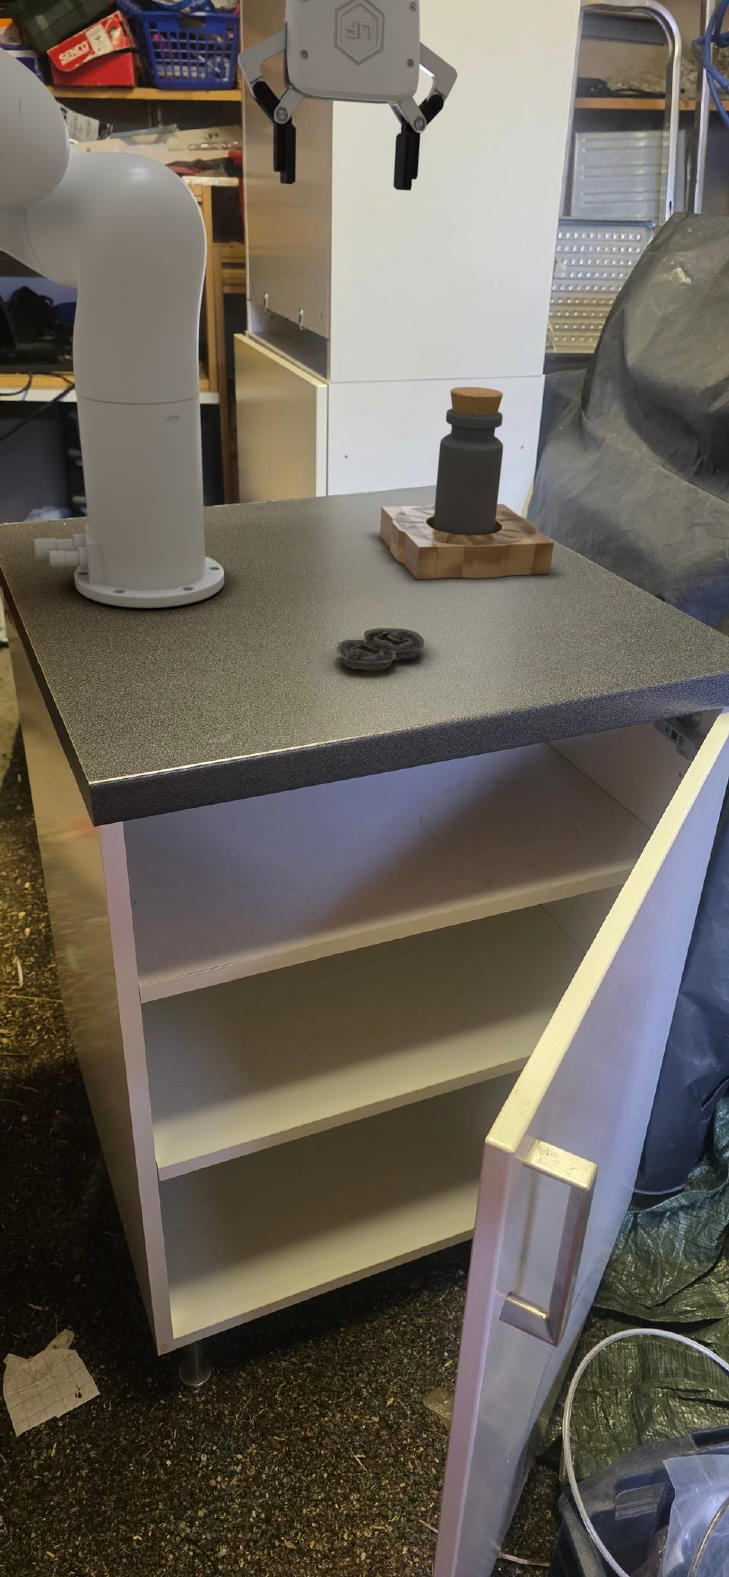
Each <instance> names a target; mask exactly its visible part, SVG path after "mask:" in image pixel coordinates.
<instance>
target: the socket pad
mask: <svg viewBox="0 0 729 1577" xmlns="http://www.w3.org/2000/svg"><path fill="white" fill-rule="evenodd" d="M434 512H435V504H427V505H426V504H425V505H400V506H396V505H395V506H381V508H380V525H379V526H380V527H379V528H380V529H379V531H380V532H379V537H380V538H381V540H382V541H383V542H384V543H385V544H386V545H387V547H388V548H389V553H390V554H391V555H392V556H393V558H394V559H395V560H396V561H397V562H398V563H400V564H403V565H404V567H405V568H406V569H407V570H408V571H409V572H410V574H411V575H412V576H413V577H414V579H416V580H432V579H433V580H434V579H454V578H455V579H456V578H457V579H459V578H464V579H488V578H502V577H503V578H504V577H506V576H527V575H528V576H530V575H550V573H551V567H552V566H551V565H552V559H553V553H554V552H553V551H554V544H555V543H554V541H553V540H551V539H550V538H548V537H547V536H546V535H545V534H543V533H542V532H541V531H539V530H538V529H537V526H536V525H535V524H534V523H532V521H530V520H529V519H528V518H526V517H523V516H521V515H519V514H517V512H515V511H513V510H512V509H511V508H509V507H508V506H507V505H505V504H504V503H497V511H496V520H495V529H494V533H493V534H488V535H474V536H467V535H456V534H451V533H446V532H441V531H438V530H436V529H433V525H434Z"/></svg>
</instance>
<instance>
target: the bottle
mask: <svg viewBox="0 0 729 1577" xmlns="http://www.w3.org/2000/svg"><path fill="white" fill-rule="evenodd" d="M503 396H504V393H503V392H502V391H500V390H498V389H493V388H489V387H477V386H459V387H454V388H452V389H451V390H450V400H451V408H449V409H447V411H446V413H445V414H446V415H445V422H446V423H447V424H448V425H450V426H451V429H450V433H448V434H446V435H445V436H443V437H442V438H441V440H440V444H439V450H438V451H439V452H438V465H437V476H436V487H435V500H434V505H435V512H434V525H433V529H436V530H438V531H441V532H446V533H451V534H456V535H467V536H474V535H488V534H493V533H494V529H495V520H496V511H497V504H498V502H499V491H500V481H501V473H502V464H503V453H504V443H503V442H502V441H501V440H500V439H499V438H498V437H497V436H495V432H496V428H500V427H501V426H502V425H503V419H504V417H503V416H504V415H503V414H502V413H501V412H500V411H499V410H500V406H501V403H502V399H503Z"/></svg>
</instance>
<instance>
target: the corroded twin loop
mask: <svg viewBox="0 0 729 1577" xmlns="http://www.w3.org/2000/svg"><path fill="white" fill-rule="evenodd" d="M424 645H425V641H424V638H423V637H422V636H421V635H420V633H418V632H417V631H413V630H411V629H406V628H398V627H397V628H394V627H393V628H390V627H389V628H388V627H379V628H372V629H367V630H365V631H364V633H363V639H345V640H342V641H340V642H338V644H337V647H336V652H337V654H339V655H340V656H341V661H342V663H343V664H344V665H345V666H346V667H347V668H349V669H351V670H385V669H387V668H390V667H391V665H392V661H393V660H406V659H414V658H416V657H418V655H419V654H420V652H421V650H422V649H423V648H424Z"/></svg>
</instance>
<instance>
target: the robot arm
mask: <svg viewBox="0 0 729 1577" xmlns="http://www.w3.org/2000/svg"><path fill="white" fill-rule="evenodd" d="M284 10H285V11H284V22H283V24H284V25H283V26H284V27H283V28H282V29H280V30H279V31H277V32H275V33H273V34H272V35H270V36H268V37H266V38H265V39H263V40H261V41H259V42H257V43H256V44H253V45H252V46H251V47H248V48H247V49H245V50H243V51H242V52H240V53H239V54H238V55H237V64H238V66H239V69H240V71H241V74H242V75H243V78H244V81H245V83H246V85H247V87H248V89H249V92H250V96H251V97H252V99H253V100H254V101H255V102H256V104H257V105H258V106H259V108H260V109H261V110H262V111H263V113H264V114H265V116H267V118H268V121H269V122H270V123H271V124H272V128H273V129H272V130H273V131H272V138H273V139H272V142H273V144H272V149H273V150H272V155H273V156H272V166H273V172H274V173H279V182H280V184H283V185H293V184H294V183H296V178H297V176H296V175H297V174H296V173H297V172H296V170H297V169H296V167H297V164H296V163H297V160H296V159H297V127H296V126H295V124H293V115H294V113H295V112H296V111H297V109H298V108H299V107H300V105H301V104H302V102H303V101H304V100H305V99H308V100H318V101H331V102H344V103H358V104H359V103H360V104H361V103H362V104H374V105H375V104H378V105H385V104H387V105H388V106H389V107H390V109H391V111H392V112H393V114H394V116H395V117H396V119H397V121H398V122H399V124H400V132H397V134H396V136H395V146H394V147H395V148H394V164H393V165H394V166H393V167H394V168H393V188H394V189H395V190H396V191H411V190H412V187H413V181H415V180H417V179H418V175H419V165H420V164H419V162H420V148H421V147H420V146H421V134H422V133H424V132H425V130H426V129H427V126H428V125H430V123H431V122H432V121H433V120H434V119H435V118H436V117H437V115H438V114H439V113H441V111H442V110H443V108H444V106H445V101H446V100H447V99H448V97H449V95H450V93H451V91H452V89H453V87H454V85H455V83H456V81H457V78H458V71H457V70H456V68H455V67H453V66H452V65H450V63H448V62H447V61H446V60H444V59H443V58H442V57H440V56H439V55H438V54H437V53H435V52H434V51H432V50H431V49H430V47H428V46H426V45H425V43H423V42H421V18H420V17H421V16H420V15H421V14H420V13H421V12H420V11H421V10H420V0H285V9H284ZM280 53H282V79H283V84H284V88H285V89H284V90H283V92H282V93H281V94H280V96H279V97H278V96H277V95H276V94H275V92H274V91H273V90H272V88H271V87H270V86H269V84H268V83H267V82H266V80H265V77H264V74H263V72H262V71H263V70H262V65H263V63H264V62H267V61H268V60H270V59H272V58H273V57H275V56H277V55H279V54H280ZM420 70H421V71H423V72H424V73H426V74H427V76H429V77H430V78H431V80H432V85H431V87H430V90H429V93H428V95H427V96H426V97H425V98H424V100H423V101H422V102H420V104H419V105H418V103H417V102H416V100H415V99H414V96H415V95H416V93H417V90H418V87H419V80H420ZM69 135H70V134H69V131H68V126H67V122H66V119H65V117H64V114H63V111H62V109H61V107H60V106H59V103H58V102H57V100H56V98H55V97H54V94H52V92H51V91H50V90H49V89H48V87H47V86H46V85H45V83H44V82H42V80H41V79H40V78H39V77H38V76H37V75H36V74H35V73H34V72H33V71H32V70H30V68H28V67H27V66H26V65H25V64H24V63H22V62H21V61H20V60H19V59H17V58H16V57H14V56H13V55H12V54H11V53H9V52H8V51H7V50H5V49H4V48H2V47H1V46H0V250H1V251H2V252H4V253H6V254H7V255H9V256H10V257H12V258H14V259H15V260H17V261H18V262H20V263H21V264H23V265H25V266H26V267H28V268H29V269H31V270H33V271H34V272H36V273H38V274H40V275H41V276H43V277H44V278H46V279H48V280H49V281H52V282H54V283H56V284H58V285H61V286H63V287H66V288H69V289H72V290H75V291H77V295H76V296H77V297H76V307H75V315H74V324H73V332H72V333H73V334H72V335H73V336H72V365H73V379H74V380H73V381H74V388H75V390H74V391H75V394H76V408H77V418H78V428H79V438H80V448H81V459H82V471H83V472H82V473H83V481H84V493H85V494H84V495H85V503H86V504H85V505H86V515H87V523H85V524H84V533H73V534H72V537H73V538H58V539H57V538H56V537H50V538H49V537H45V538H44V537H43V538H41V537H40V538H34V539H33V541H34V542H33V543H34V554H35V560H36V562H37V563H43V562H49V567H50V569H62V568H67V567H68V568H69V567H77V568H76V569H75V570H74V575H73V578H74V584H75V588H76V590H77V592H78V593H80V594H81V595H82V596H84V597H85V598H87V599H89V600H92V601H94V602H97V603H101V604H106V605H109V606H115V607H120V608H121V607H122V608H133V609H162V608H163V609H164V608H171V607H178V606H183V605H184V606H185V605H190V604H193V603H197V602H200V601H203V600H205V599H208V598H210V597H212V596H214V595H215V594H217V593H218V592H219V591H220V590H221V589H222V588H223V587H224V584H225V570H224V567H223V566H222V565H221V564H220V563H219V562H218V561H216V560H214V559H213V558H211V557H209V556H207V555H206V541H205V538H206V536H205V511H204V508H205V507H204V483H203V480H204V478H203V456H202V455H203V454H202V452H203V450H202V425H201V397H200V396H201V395H200V370H199V369H200V366H199V339H200V338H199V336H200V335H199V332H200V331H199V330H200V316H201V315H200V314H201V304H202V297H203V290H204V283H205V282H204V281H205V275H206V267H207V254H208V253H207V250H208V248H207V233H206V226H205V221H204V217H203V213H202V210H201V207H200V205H199V203H198V201H197V198H196V197H195V195H194V194H193V191H192V190H191V188H190V187H189V186H188V185H187V184H186V182H185V181H184V180H183V179H182V178H181V177H180V176H179V175H178V174H177V173H176V172H175V170H173V169H172V168H170V167H169V166H167V165H165V164H164V163H162V162H160V161H158V160H156V159H154V158H151V157H148V156H145V155H141V154H136V153H130V152H114V151H113V152H112V151H111V152H110V151H94V152H83V151H82V150H80V149H78V147H75V146H74V145H73V144H71V143H70V136H69Z"/></svg>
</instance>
